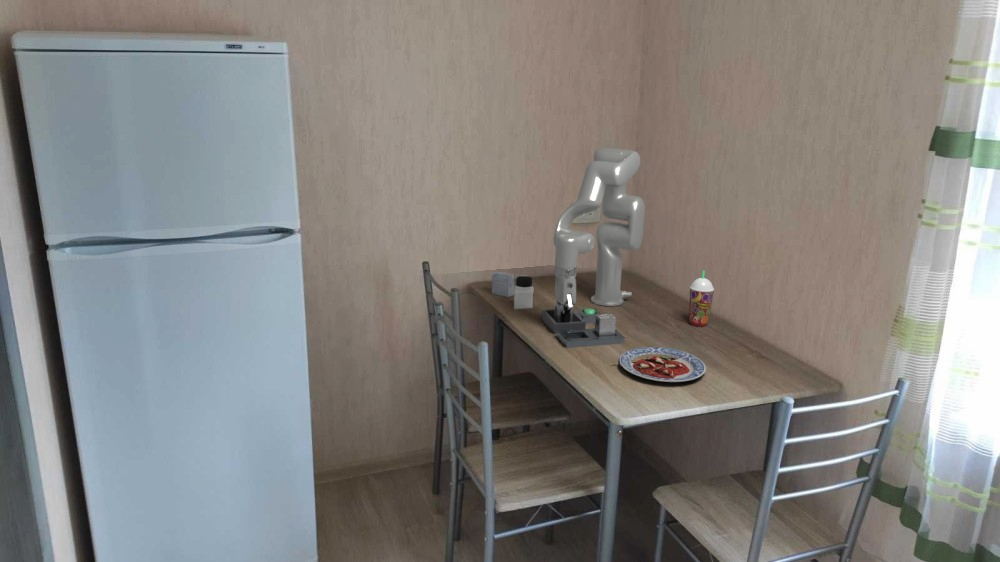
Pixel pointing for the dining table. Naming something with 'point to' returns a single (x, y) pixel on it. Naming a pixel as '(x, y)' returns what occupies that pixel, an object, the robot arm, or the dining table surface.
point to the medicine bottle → (523, 292)
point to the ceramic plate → (663, 365)
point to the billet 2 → (605, 325)
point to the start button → (589, 311)
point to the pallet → (587, 338)
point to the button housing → (588, 315)
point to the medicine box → (503, 284)
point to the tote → (551, 323)
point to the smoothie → (700, 301)
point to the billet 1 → (559, 310)
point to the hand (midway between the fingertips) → (563, 320)
